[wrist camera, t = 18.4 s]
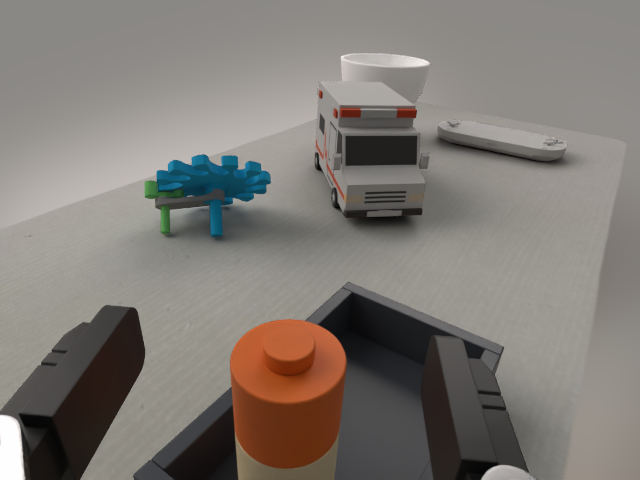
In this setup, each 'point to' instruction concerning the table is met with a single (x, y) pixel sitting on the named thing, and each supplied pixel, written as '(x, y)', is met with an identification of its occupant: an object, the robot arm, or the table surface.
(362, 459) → the bin
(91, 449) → the robot arm
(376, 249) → the table surface
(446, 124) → the game console
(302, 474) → the orange cylinder
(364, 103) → the toy vehicle
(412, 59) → the cup
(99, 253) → the table surface
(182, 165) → the gear
